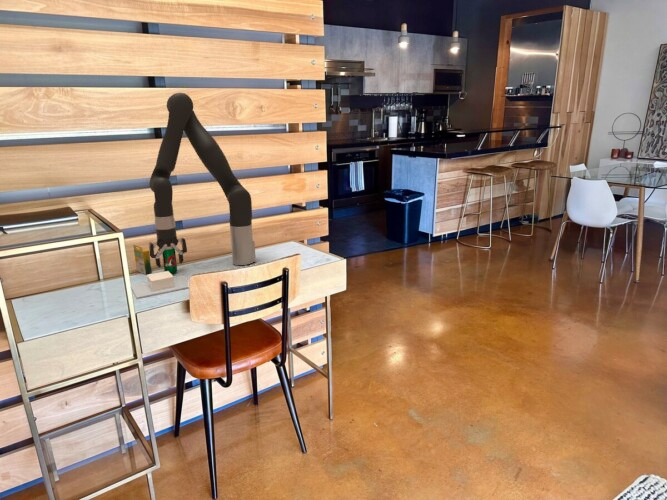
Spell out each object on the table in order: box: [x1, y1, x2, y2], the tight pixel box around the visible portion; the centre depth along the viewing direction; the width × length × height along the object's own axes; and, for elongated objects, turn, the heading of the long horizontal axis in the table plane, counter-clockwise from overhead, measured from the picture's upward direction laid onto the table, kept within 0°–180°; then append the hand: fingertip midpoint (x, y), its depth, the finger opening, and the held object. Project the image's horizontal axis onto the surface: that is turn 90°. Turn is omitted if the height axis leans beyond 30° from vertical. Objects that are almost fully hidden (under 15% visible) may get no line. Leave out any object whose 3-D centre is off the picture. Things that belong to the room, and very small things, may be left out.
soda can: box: [161, 246, 178, 276], centre depth 189 cm, size 5×5×12 cm
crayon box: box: [132, 244, 153, 276], centre depth 191 cm, size 7×3×12 cm, turn 50°
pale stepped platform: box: [131, 271, 189, 300], centre depth 175 cm, size 20×14×5 cm
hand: (170, 264), depth 189 cm, fingers open, 8 cm apart
